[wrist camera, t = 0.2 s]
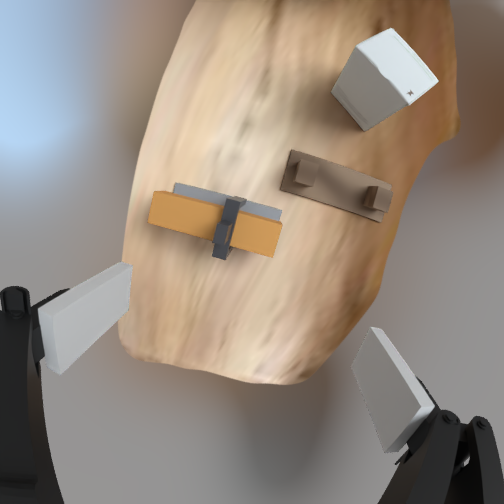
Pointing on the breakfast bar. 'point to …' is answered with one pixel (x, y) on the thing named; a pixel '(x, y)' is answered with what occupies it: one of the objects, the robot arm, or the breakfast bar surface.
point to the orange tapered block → (213, 222)
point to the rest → (337, 185)
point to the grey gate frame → (226, 227)
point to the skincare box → (381, 79)
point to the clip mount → (221, 199)
